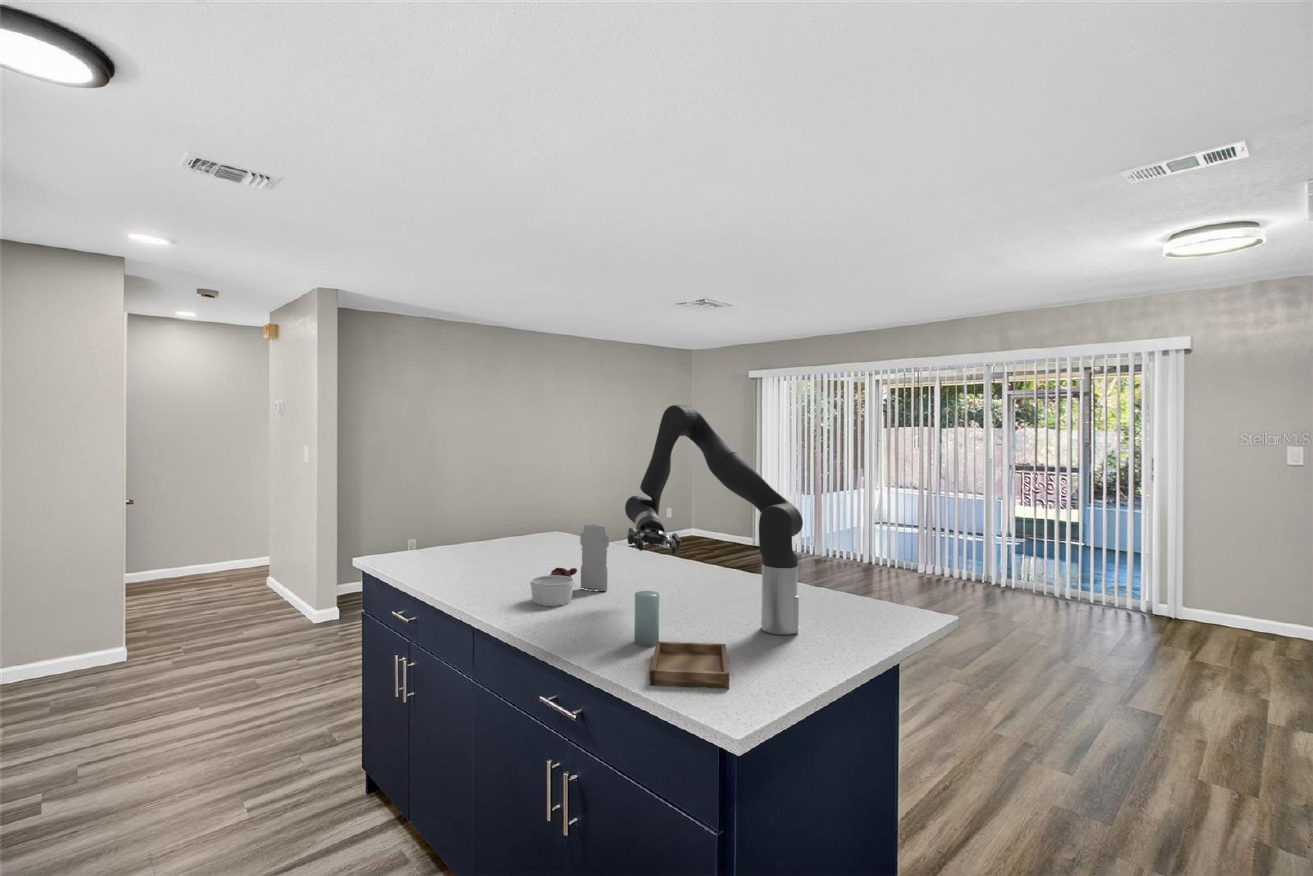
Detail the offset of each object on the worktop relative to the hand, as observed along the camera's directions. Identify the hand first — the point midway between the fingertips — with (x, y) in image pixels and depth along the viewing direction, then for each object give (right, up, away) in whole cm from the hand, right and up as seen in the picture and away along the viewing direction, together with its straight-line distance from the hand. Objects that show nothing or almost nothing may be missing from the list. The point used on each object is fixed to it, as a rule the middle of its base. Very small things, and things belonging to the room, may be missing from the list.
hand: (657, 549), depth 158 cm
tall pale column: (-21, -22, +43) cm, 52 cm away
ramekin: (-32, -22, +27) cm, 47 cm away
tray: (+7, -21, -27) cm, 35 cm away
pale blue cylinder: (-3, -21, -9) cm, 23 cm away
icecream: (-33, -22, +46) cm, 60 cm away
